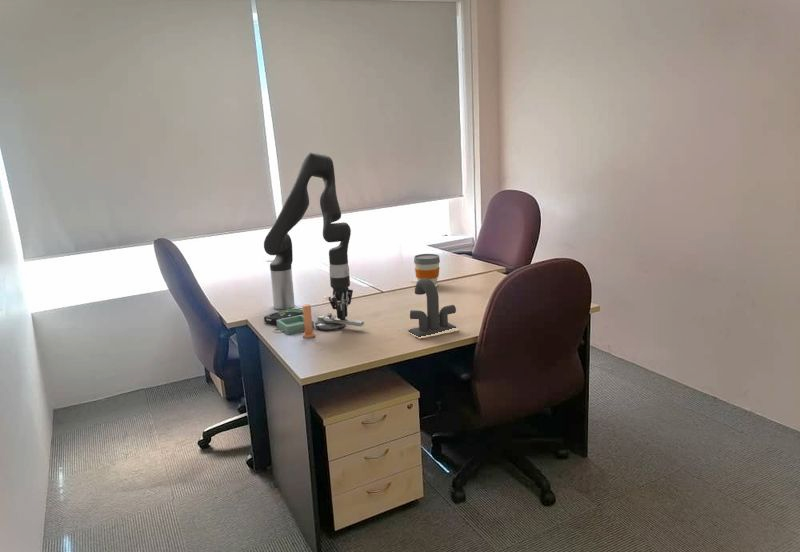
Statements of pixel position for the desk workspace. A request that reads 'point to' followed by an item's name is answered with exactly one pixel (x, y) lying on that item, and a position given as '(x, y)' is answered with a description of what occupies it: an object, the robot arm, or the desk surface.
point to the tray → (292, 324)
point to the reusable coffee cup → (427, 267)
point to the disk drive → (282, 315)
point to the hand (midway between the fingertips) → (342, 317)
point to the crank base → (328, 326)
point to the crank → (333, 319)
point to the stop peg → (307, 322)
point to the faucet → (431, 311)
